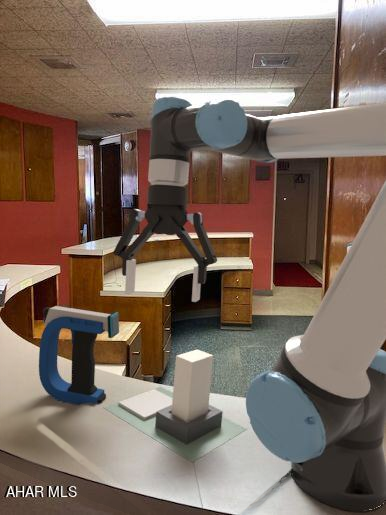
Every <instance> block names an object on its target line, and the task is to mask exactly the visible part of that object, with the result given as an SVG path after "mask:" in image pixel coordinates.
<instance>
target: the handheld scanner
mask: <svg viewBox="0 0 386 515" xmlns="http://www.w3.org/2000/svg"><path fill="white" fill-rule="evenodd" d="M43 317H44V318H43V323H44V324H43V326H44V329H43V330H42V334H41V337H40V343H39V352H38V354H39V355H38V375H39V380H40V383H41V385H42V387H43V390H44V391H45V392H46V393H47V394H48V395H49V396H50V397H51V398H53V399H54V400H56V401H58V402H60V401H62V402H61V403H67V404H71V403H72V405H76V404H77V405H78V406H80V405H83V404H86V403H88V404H93V405H96V404H102V403H103V402H104V401H105V400H106V398H107V393H105V389H102V388H98V387H97V386H96V385H95V373H96V361H95V360H96V359H95V358H96V357H95V354H94V352H95V351H94V347H95V342H96V340H97V338H98V335H102V334H103V333H105V332H107V337H108V339H113V338H114V337H116V336H117V335H118V334H119V333H120V323H119V322H120V321H119V320H120V319H119V312H118V311H114V312H112V313H104V312H98V311H91V310H85V309H77V308H74V307H73V308H72V307H66V306H59V305H55V306H53V307H48V306H47V307H44V309H43ZM62 329H64V330H70V332H71V334H70V335H71V344H72V346H71V347H72V348H71V380H70V381H71V383H70V382H67V381H66V380H65V379H63V378H62V376H61V375H60V372H59V370H58V355H59V354H58V351H59V341H60V340H59V339H60V334H61V330H62ZM77 405H76V406H77Z"/></svg>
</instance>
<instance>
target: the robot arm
mask: <svg viewBox="0 0 386 515" xmlns="http://www.w3.org/2000/svg"><path fill="white" fill-rule="evenodd" d="M151 109H152V111H151V118H150V123H149V125H150V133H149V134H150V135H149V136H150V137H149V139H150V140H149V162H148V175H147V178H148V179H147V181H148V182H149V183H150V185H148V187H147V195H146V196H147V197H146V204H147V207H146V210H141V209H137V208H132V209H131V211H130V215H129V220H128V222H127V225H126V227H125V229H124V230H123V232H122V234H121V237H119V238H120V239H119V240H118V242H117V244H116V245H115V248H114V250H113V255H114V256H116V257H120V258H121V261H122V262H121V264H122V265H121V266H122V267H121V268H122V269H121V273H122V276H124V277H125V284H124V285H125V288H124V289H125V290H124V293H125V295H129V294H133V293H135V288H136V266H137V259H134V256H135V255H136V254H137V253H138V252H139V251H140V249H141V248H142V247H144V245H145V244H146V243H147V242H148V240H149V239H150V238H152V236H154V235H166V236H175V235H176V237H177V238H178V239H180V241H181V243H182V244H183V245H184V247H185V248H186V250H187V251H188V252H189V253H190V255H191V257H192V258H193V260H194V261H195V263H196V264H197V265H195V266H193V277H192V278H193V279H192V290H191V291H192V292H191V293H192V294H191V302H193V303H196V302H198V301H199V300H200V299H201V287H202V286H201V285H204V284H206V281H207V271H208V266H209V265H213V264H216V263H217V261H218V258H217V256H216V253H215V249H214V248H213V245H212V243H211V240H210V238H209V236H208V233H207V230H206V228H205V224H204V215H203V213H201V212H194V213H188V212H187V211H188V210H187V208H188V192H189V191H188V190H189V189H188V188H187V187H186V185H188V184H189V175H190V174H189V173H190V158H191V157H190V156H191V154H190V153H191V152H194V151H195V152H197V151H213V152H218V153H222V154H227V155H231V156H236V157H241V158H244V159H248V160H252V161H254V162H256V163H257V162H258V163H273V162H274V163H275V162H276V161H279V159H282V160H283V159H308V158H309V159H311V158H313V159H314V158H345V157H349V158H350V157H380V156H381V157H383V156H386V101H385V102H379V103H370V104H361V105H355V106H345V107H339V108H331V109H321V110H314V111H305V112H298V113H297V112H296V113H289V114H282V115H277V116H265V117H256V116H255V115H251V114H249V113H246V111H245V110H244V108H243V107H242V106H241V105H240V103H239V101H236V100H235V99H232V98H224V99H219V98H218V99H213V100H209V101H207V102H204V103H199V104H196V105H193V104H192V102H191V101H190V100H188V99H186V98H183V97H180V96H179V97H178V96H169V97H168V96H167V97H166V96H162V97H159V98H157V99H155V101H153V104H152V108H151ZM144 218H145V220H146V222H147V225H146V226H145V227H144V228H143V229H142V231H141V232H140V234H139V235H138V236H137V237H136V238H135V240H134V241H133V242H132V243H131V241H132V240H133V237H134V236H135V233H136V231H137V230H138V228H139V227H140V223H141V222H142V221H143V220H144ZM188 222H190V224H191V225H193V228H194V231H195V234H196V236H197V238H198V241H199V243H200V246H201V249H202V251H203V253H204V254H203V253H202V251H201V250H200V249H199V247H198V245H196V242H194V239H192V238H191V236H190V234H189V232H188V230H187V229H186V228H185V225H186V224H187V223H188ZM130 243H131V244H130ZM309 322H310V323H309V324H308V327H307V328H306V330H305V331H304V334H301V335H295V336H292V337H290V338H289V339H288V340H287V341H286V343H285V344H284V346H283V348H282V349H281V350H282V351H281V352H280V354H279V356H278V358H277V360H276V362H275V363H274V365H273V367H272V368H271V369H270V370H265V371H262V372H260V374H258V375H257V376H256V377H255V376H254V378H253V379H252V380H251V382H250V383H249V385H248V387H247V390H246V395H245V406H246V407H245V409H246V413H247V416H248V419H249V424H250V426H251V428H252V431H253V432H254V434H255V435H256V437H257V439H258V440H259V441H260V443H261V444H262V445H263V446H264V447H265V448H266V449H267V450H268V451H269V452H270V453H271V454H273V455H274V456H276V457H277V458H278V459H281V460H282V461H286V462H289V463H290V466H291V468H290V473H291V476H292V478H293V480H294V481H295V482H296V484H297V485H298V486H299V488H301V489H302V490H303V491H304V492H305V493H306V494H308V495H310V496H311V497H312V498H314V499H315V500H317V501H319V502H321V503H323V504H325V505H328V506H331V507H333V508H337V509H341V510H344V511H349V512H350V511H351V512H360V511H361V512H365V511H364V510H369V509H374V508H376V507H378V506H380V505H382V504H383V503H384V502H385V500H386V457H385V453H384V448H383V443H384V435H385V430H386V351H385V350H383V349H381V348H382V346H383V345H384V343H385V341H386V180H385V182H384V183H383V185H382V186H381V189H380V191H379V193H378V195H377V197H376V198H375V200H374V202H373V204H372V205H371V208H370V210H369V211H368V213H367V215H366V217H365V219H364V221H363V223H362V224H361V226H360V228H359V230H358V232H357V234H356V236H355V238H354V239H353V242H352V243H351V245H350V246H349V249H348V251H347V253H346V255H345V256H344V258H343V260H342V262H341V264H340V266H339V268H338V269H337V271H336V273H335V275H334V277H333V279H332V281H331V283H330V285H329V287H328V288H327V290H326V291H325V294H324V296H323V298H322V300H321V302H320V304H319V305H318V307H317V309H316V311H315V313H314V315H313V317H312V318H311V321H309ZM385 503H386V502H385ZM382 506H383V505H382Z"/></svg>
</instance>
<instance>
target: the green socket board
mask: <svg viewBox="0 0 386 515" xmlns="http://www.w3.org/2000/svg"><path fill="white" fill-rule="evenodd" d="M172 400H173V391H170V390H169V389H166V388H164V387H162V386H158V387H156V388H153V389H150V390H148V391H145V392H142V393H139V394H136V395H134V396H131V397H128V398H125V399H123V400H120V401H118V402H117V401H116V402H115V403H112V404H109V405H107V406H104V407H103V409H105V410H106V411H107V412H110V413H111V414H113V415H115V416H116V417H117V418H119V419H121V420H123V421H124V422H126V423H127V424H129V425H131V426H132V427H134V428H136V429H137V430H138V431H140V432H142V433H143V434H145V435H147V436H149V437H150V438H152V439H153V440H155V441H157V442H158V443H160V444H162V445H163V446H165V447H166V448H168V449H170V450H171V451H173V452H174V453H176V454H177V455H179V456H181V457H182V458H184V459H186V460H187V461H189V462H190V463H194V462H196V461H197V460H199V459H201V458H202V457H204V456H205V455H207V454H208V453H210V452H212V451H214V450H215V449H217V448H218V447H220V446H222V445H224V444H225V443H226V442H228V441H230V440H232V439H234V438H235V437H237V436H238V435H240V434H242V433H244V432H245V431H247V428H246V427H244V426H241V425H240V424H238V423H236V422H233V421H232V420H230V419H227V418H226V417H224V416H223V414H224V412H223V410H221V409H220V408H217V407H215V406H213V405H212V404H211V405H210V404H209V406H208V413H206V414H204V415H202V416H200V417H198V418H196V419H194V420H192V421H190V422H188V423H187V422H185V421H183V420H182V419H180V418H178V417H176V416H174V415H172V414H171V412H172Z"/></svg>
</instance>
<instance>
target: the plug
mask: <svg viewBox="0 0 386 515" xmlns="http://www.w3.org/2000/svg"><path fill="white" fill-rule="evenodd" d="M213 360H214V355H213V354H211V353H208V352H205V351H202V350H200V349H194V350H191V351H187V352H184V353H180V354H178V355H177V354H176V356H175V364H174V366H175V367H174V376H173V378H174V379H173V389H172V392H173V400H172V412H171V414H172V415H174V416H176V417H178V418H180V419H182V420H183V421H185V422H187V423H188V422H190V421H192V420H194V419H196V418H198V417H200V416H202V415H204V414H206V413H208V406H209V405H210V403H209V402H210V397H211V396H210V395H211V394H210V393H211V382H212V374H213V372H212V371H213Z"/></svg>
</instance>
